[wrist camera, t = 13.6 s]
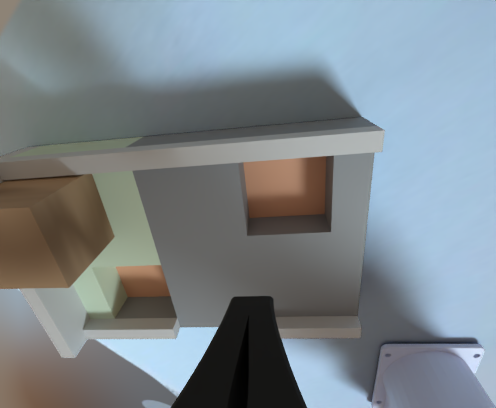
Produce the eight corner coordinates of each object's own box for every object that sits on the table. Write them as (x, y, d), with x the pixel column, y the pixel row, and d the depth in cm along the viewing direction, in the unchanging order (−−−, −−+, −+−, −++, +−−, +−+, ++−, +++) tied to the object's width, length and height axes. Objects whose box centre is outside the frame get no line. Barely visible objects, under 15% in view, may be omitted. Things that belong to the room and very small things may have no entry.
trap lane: (347, 299, 22) (367, 359, 17) (100, 303, 24) (62, 357, 20) (362, 117, 16) (398, 138, 11) (27, 146, 18) (-53, 174, 14)
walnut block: (114, 236, 18) (69, 287, 14) (50, 239, 18) (-12, 289, 14) (91, 170, 16) (29, 207, 12) (18, 175, 16) (-64, 211, 12)
